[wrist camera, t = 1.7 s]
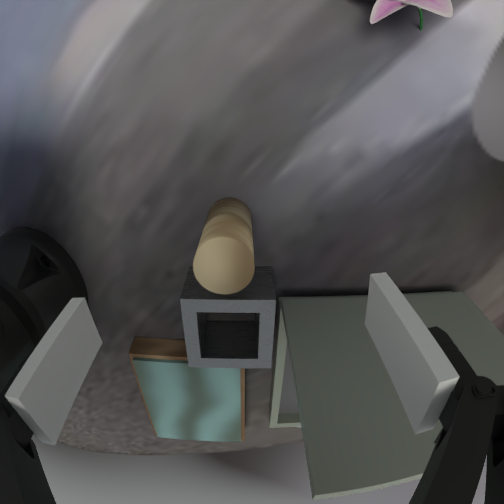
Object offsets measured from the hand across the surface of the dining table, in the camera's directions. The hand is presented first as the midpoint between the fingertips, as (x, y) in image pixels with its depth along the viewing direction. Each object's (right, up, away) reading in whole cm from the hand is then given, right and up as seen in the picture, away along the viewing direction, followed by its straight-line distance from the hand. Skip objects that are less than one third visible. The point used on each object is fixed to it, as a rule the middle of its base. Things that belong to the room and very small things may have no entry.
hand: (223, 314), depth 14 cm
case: (+15, -12, +24) cm, 31 cm away
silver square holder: (-1, -2, +20) cm, 20 cm away
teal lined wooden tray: (-6, -15, +25) cm, 30 cm away
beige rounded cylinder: (-1, +6, +16) cm, 17 cm away
